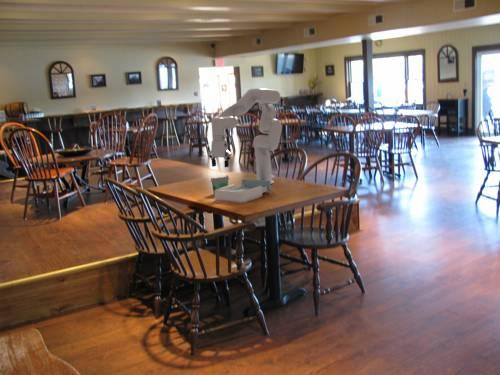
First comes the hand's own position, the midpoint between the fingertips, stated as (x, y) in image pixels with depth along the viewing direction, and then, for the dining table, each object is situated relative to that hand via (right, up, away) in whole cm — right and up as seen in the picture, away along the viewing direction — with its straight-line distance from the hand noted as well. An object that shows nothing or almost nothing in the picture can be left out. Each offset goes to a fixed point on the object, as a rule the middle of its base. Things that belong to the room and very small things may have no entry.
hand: (220, 166), depth 309 cm
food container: (+1, -16, +4) cm, 17 cm away
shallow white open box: (+12, -19, -12) cm, 25 cm away
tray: (+17, -16, -6) cm, 24 cm away
